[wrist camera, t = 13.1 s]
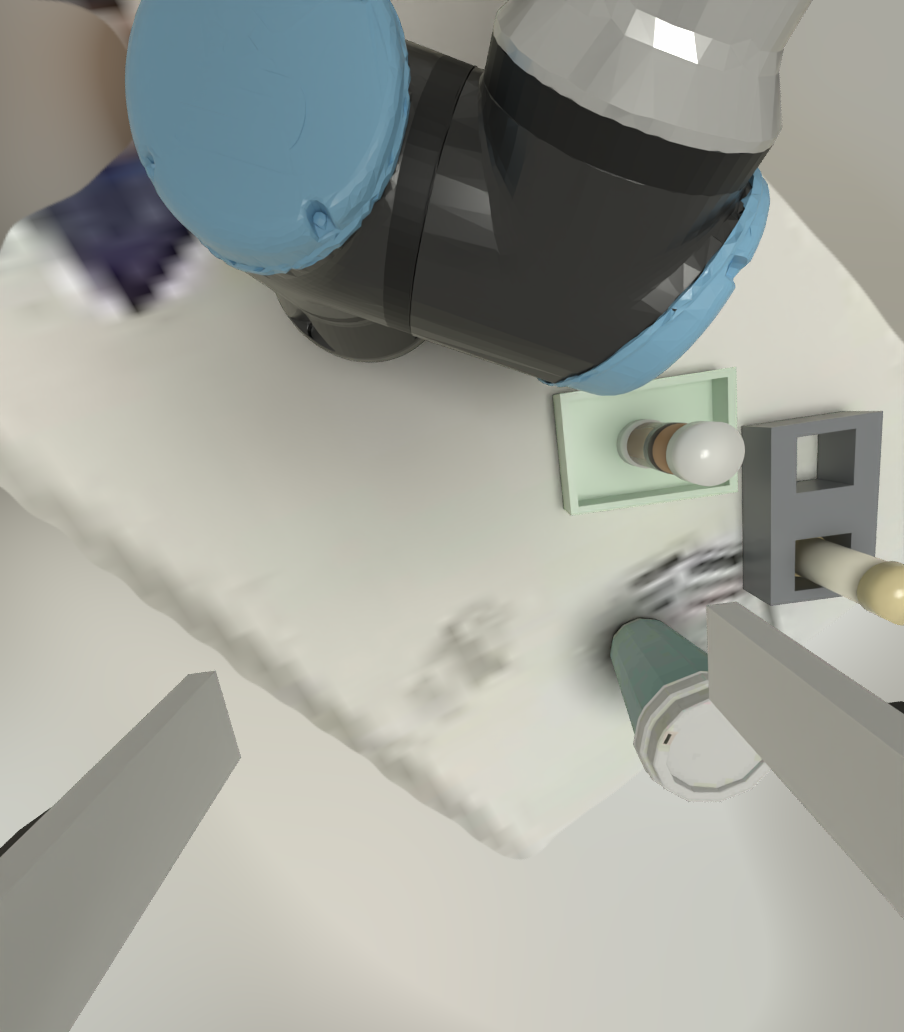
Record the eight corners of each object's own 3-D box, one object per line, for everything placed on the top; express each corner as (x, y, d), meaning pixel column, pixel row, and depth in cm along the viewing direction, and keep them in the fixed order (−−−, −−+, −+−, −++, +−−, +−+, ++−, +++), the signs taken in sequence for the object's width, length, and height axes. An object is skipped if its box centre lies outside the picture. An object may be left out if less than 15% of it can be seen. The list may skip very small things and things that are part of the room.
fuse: (768, 531, 44) (882, 574, 32) (812, 525, 43) (944, 566, 32) (768, 572, 45) (879, 629, 33) (811, 566, 44) (939, 621, 33)
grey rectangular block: (741, 426, 42) (771, 427, 38) (842, 411, 41) (883, 411, 37) (743, 589, 45) (770, 605, 41) (836, 576, 45) (872, 592, 41)
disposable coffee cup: (710, 618, 46) (829, 714, 31) (665, 707, 48) (756, 836, 33) (612, 585, 45) (687, 668, 30) (571, 677, 47) (622, 795, 33)
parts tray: (552, 395, 41) (559, 393, 38) (716, 370, 40) (736, 366, 38) (563, 508, 43) (571, 515, 40) (718, 486, 43) (737, 491, 40)
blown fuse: (614, 423, 41) (678, 426, 29) (661, 416, 41) (744, 416, 29) (618, 469, 42) (680, 490, 30) (664, 462, 42) (745, 481, 30)
